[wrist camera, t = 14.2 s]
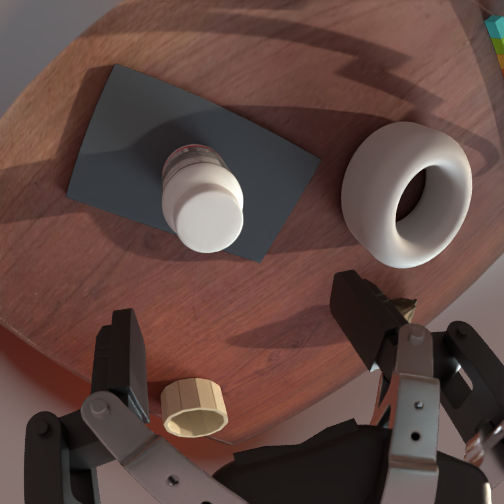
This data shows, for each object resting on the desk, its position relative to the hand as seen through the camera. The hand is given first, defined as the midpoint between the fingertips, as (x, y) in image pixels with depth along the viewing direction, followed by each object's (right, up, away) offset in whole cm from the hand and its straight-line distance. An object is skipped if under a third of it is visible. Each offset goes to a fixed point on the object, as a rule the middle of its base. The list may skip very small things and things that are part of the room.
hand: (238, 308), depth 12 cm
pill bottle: (-4, +9, +14) cm, 17 cm away
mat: (-4, +9, +14) cm, 18 cm away
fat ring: (+16, +10, +21) cm, 28 cm away
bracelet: (-8, -19, +31) cm, 37 cm away
